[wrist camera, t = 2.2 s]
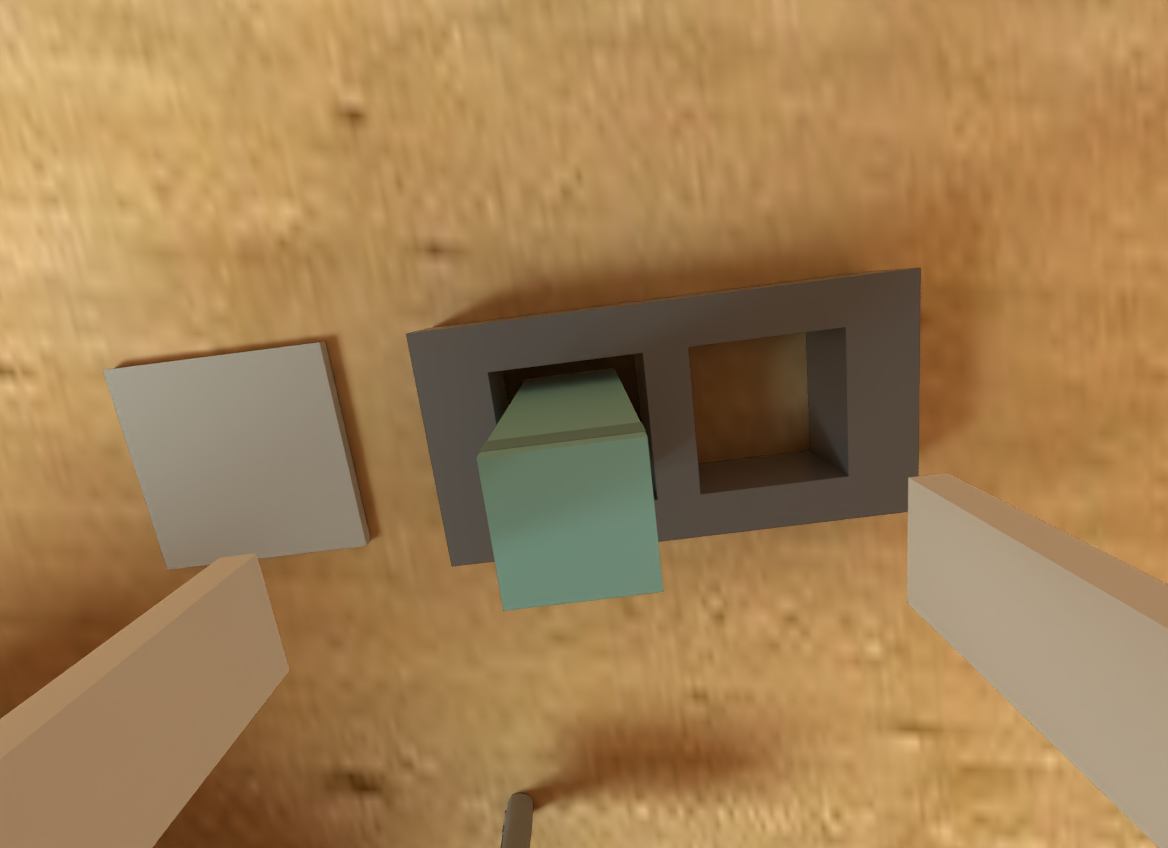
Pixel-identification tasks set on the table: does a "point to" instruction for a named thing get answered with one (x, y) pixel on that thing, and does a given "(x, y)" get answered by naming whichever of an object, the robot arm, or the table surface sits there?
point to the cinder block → (660, 345)
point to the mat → (241, 454)
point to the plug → (570, 494)
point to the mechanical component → (518, 822)
